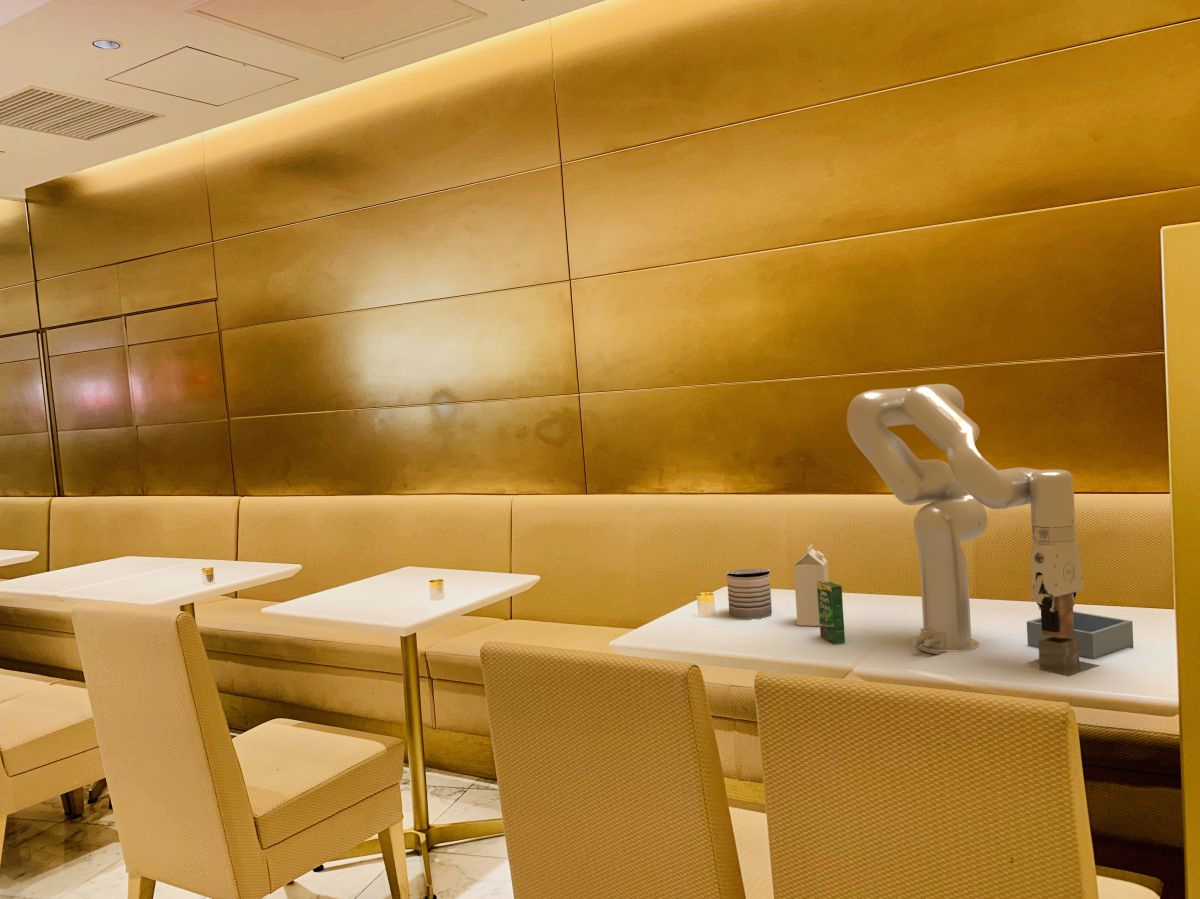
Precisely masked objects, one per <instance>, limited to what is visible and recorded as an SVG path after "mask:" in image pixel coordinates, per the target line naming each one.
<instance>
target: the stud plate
mask: <svg viewBox="0 0 1200 899" xmlns="http://www.w3.org/2000/svg"><path fill="white" fill-rule="evenodd" d="M1079 664H1080V665H1079V666H1076V667H1073V668H1070V669H1067V670H1065V671H1063V670H1059V669H1054V668H1050V667H1046V666H1041V665H1039V658H1036V659H1033V660H1030V661H1027V662H1025V663H1021V664H1020V666H1021V667H1025V668H1030V669H1033V670H1038V671H1042V672H1043V671H1044V672H1048V673H1052V674H1055V675H1059V676H1064V677H1069V678H1070V677H1072V676H1075V675H1078V674H1081V673H1084V672H1086V671H1089V670H1091V669H1095V668H1096V667H1097V668H1098V667H1100V666H1101V665H1100V664H1095V663H1090V662H1086V661H1082V660H1079Z"/></svg>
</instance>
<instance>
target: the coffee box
mask: <svg viewBox="0 0 1200 899" xmlns="http://www.w3.org/2000/svg"><path fill="white" fill-rule="evenodd" d="M817 593H818V607H819V620H820V626H819V630H820V631H819V632H820V637H822V638H823V639H825V640H827V641H829V642H831V643H832V644H834V645H840V644H844V643H846V639H845V638H846V636H845V620H844V608H843V607H844V605H843V588H842V585H841V584H838V583H834V582H833V581H832V582H831V581H830V580H829V581H818V582H817Z"/></svg>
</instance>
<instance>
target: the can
mask: <svg viewBox="0 0 1200 899" xmlns="http://www.w3.org/2000/svg"><path fill="white" fill-rule="evenodd" d="M770 571H771V569H770V568H745V569H744V568H742V569H736V570H729V571H727V572H726V580H727V581H726V582H727V597H728V598H727V599H728V612H729V613H728V614H729V617H730V618H732V619H735V620H743V621H744V620H745V621H753V620H752V619H755V620H763V619H762V618H764V619H767V618H770V617H772V615H771V614H773V610H772V608H773V607H772V594H771V593H772V592H771V590H772V589H771V578H770V576H771V575H770ZM769 616H770V617H769ZM766 617H767V618H766Z"/></svg>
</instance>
